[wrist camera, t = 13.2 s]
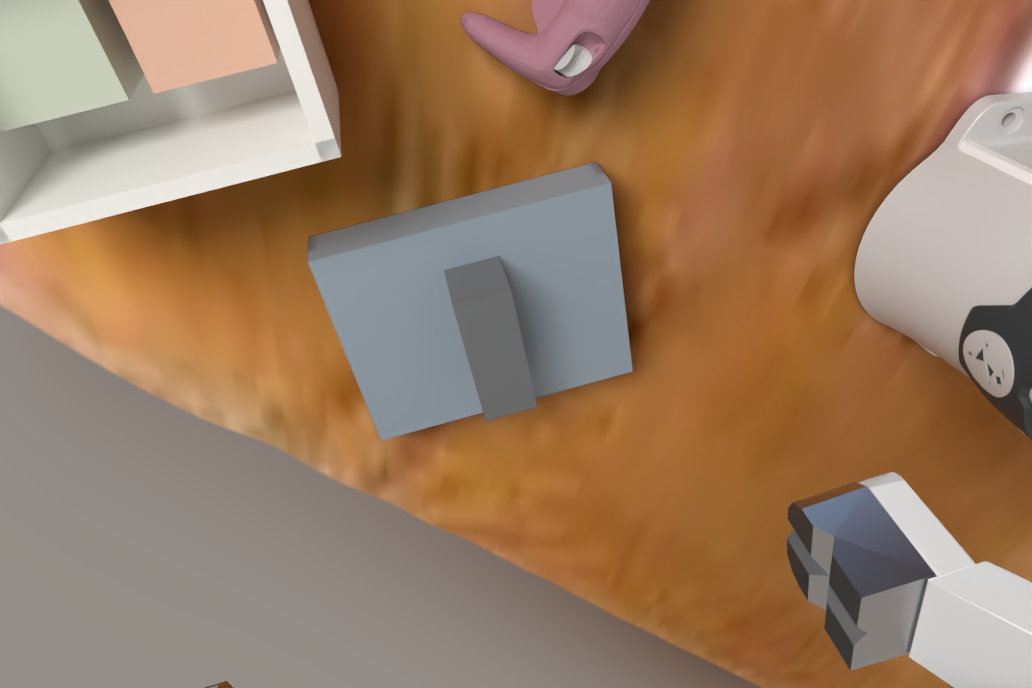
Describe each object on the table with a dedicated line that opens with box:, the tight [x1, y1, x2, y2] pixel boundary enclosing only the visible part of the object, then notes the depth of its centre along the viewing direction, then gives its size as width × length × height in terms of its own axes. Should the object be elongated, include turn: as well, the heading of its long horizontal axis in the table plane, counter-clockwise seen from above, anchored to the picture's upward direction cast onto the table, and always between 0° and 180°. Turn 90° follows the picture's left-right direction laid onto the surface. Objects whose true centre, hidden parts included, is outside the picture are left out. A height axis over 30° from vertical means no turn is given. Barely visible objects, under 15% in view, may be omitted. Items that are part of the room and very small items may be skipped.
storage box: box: [0, 0, 341, 244], centre depth 30 cm, size 14×11×8 cm
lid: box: [308, 162, 633, 440], centre depth 43 cm, size 16×13×6 cm
